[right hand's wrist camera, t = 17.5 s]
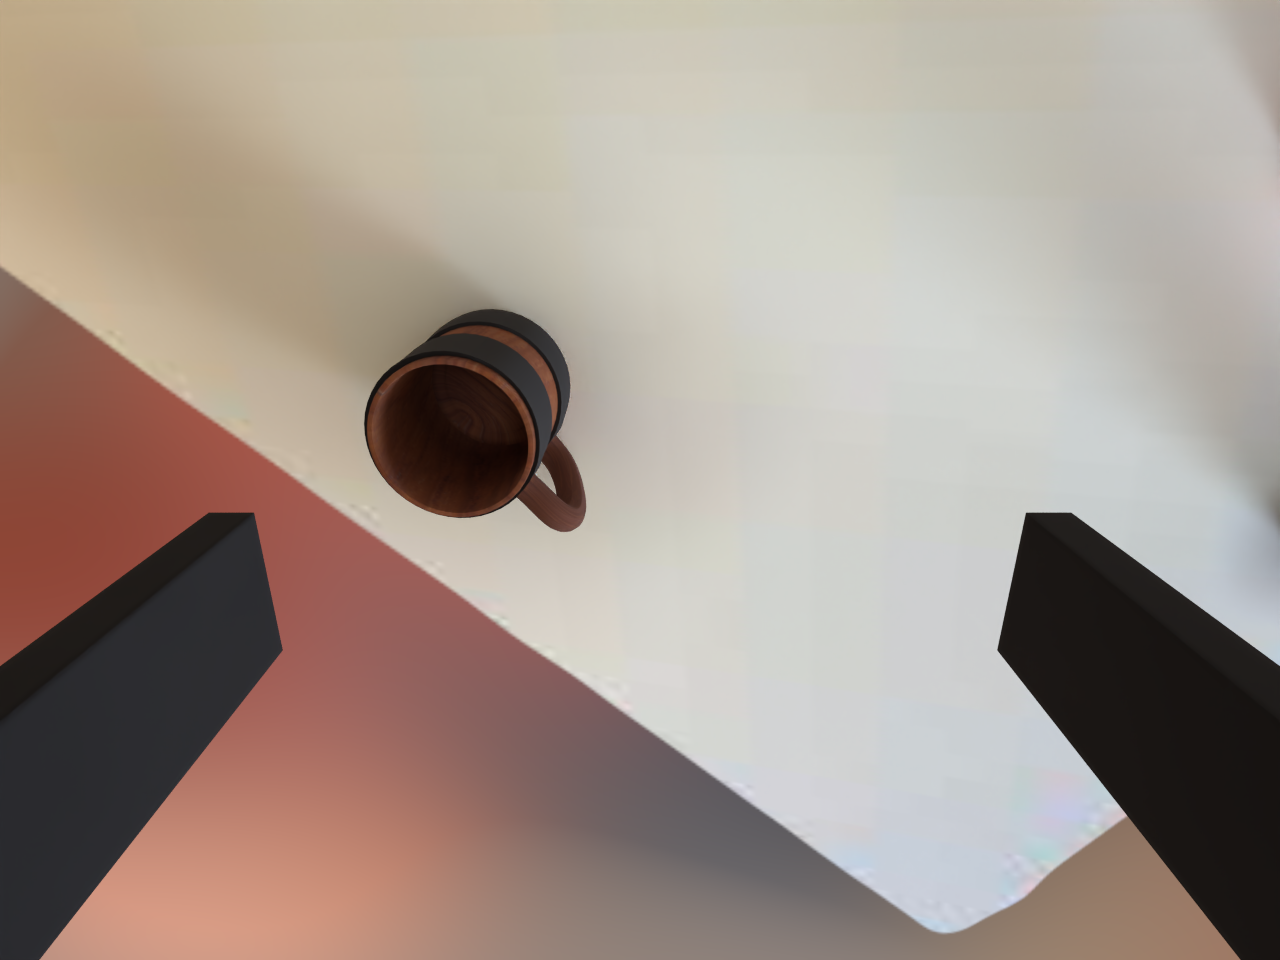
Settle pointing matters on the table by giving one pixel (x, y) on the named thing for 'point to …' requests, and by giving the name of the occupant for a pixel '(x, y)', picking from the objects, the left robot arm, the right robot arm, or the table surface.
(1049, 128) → the table surface
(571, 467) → the mug
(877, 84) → the table surface
